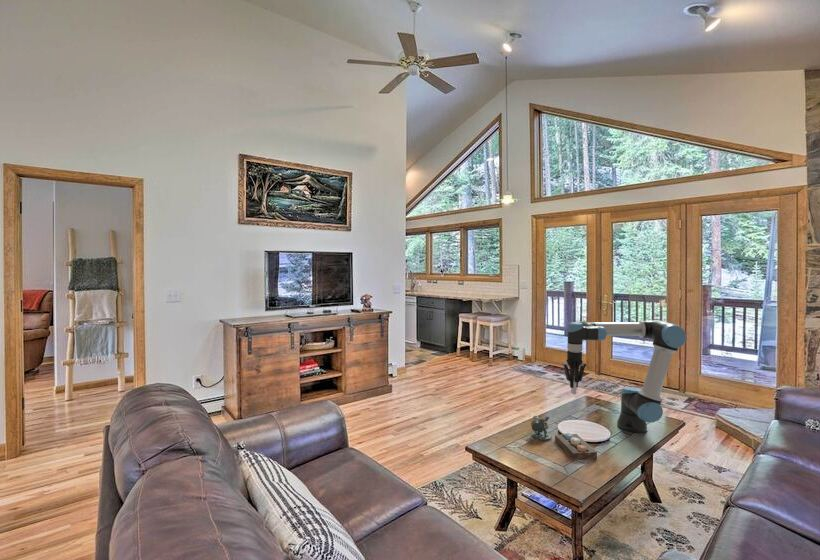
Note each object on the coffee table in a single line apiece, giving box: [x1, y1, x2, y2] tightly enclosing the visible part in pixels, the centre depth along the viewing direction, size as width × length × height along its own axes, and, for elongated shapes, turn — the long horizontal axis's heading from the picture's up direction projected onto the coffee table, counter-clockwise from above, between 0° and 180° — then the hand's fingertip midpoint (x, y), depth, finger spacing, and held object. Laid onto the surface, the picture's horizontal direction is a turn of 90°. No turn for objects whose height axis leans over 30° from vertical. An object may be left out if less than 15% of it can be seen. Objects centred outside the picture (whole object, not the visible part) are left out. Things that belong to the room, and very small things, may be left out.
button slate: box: [564, 432, 573, 440], centre depth 213 cm, size 4×4×3 cm
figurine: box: [530, 415, 553, 442], centre depth 221 cm, size 11×11×12 cm
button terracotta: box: [577, 445, 587, 452], centre depth 200 cm, size 4×4×3 cm
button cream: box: [570, 437, 580, 446], centre depth 206 cm, size 4×4×3 cm
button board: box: [554, 433, 598, 461], centre depth 207 cm, size 12×20×4 cm, turn 5°
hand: (573, 393), depth 219 cm, fingers closed
